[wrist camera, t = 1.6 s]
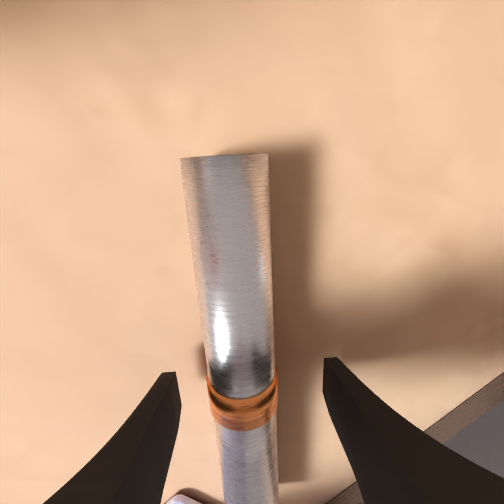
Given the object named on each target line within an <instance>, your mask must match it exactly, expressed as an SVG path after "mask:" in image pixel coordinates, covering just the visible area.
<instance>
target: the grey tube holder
mask: <svg viewBox="0 0 504 504" xmlns="http://www.w3.org/2000/svg"><path fill="white" fill-rule="evenodd" d="M424 433H426V434H428V435H429V436H431V437H432V438H434V439H435V440H437V441H438V442H440V443H441V444H443V445H445V446H446V447H448V448H449V449H451V450H453V451H454V452H456V453H458V454H460V455H461V456H463V457H465V458H467V459H468V460H470V461H472V462H474V463H475V464H477V465H479V466H481V467H483V468H485V469H487V470H489V471H491V472H493V473H495V474H497V475H498V476H500V477H502V478H504V373H503V374H501V375H500V376H499V377H497V378H496V379H495V380H493V381H492V382H491V383H489V384H488V385H487V386H485V387H484V388H483V389H481V390H480V391H479V392H477V393H476V394H474V395H473V396H472V397H470V398H469V399H468V400H466V401H465V402H464V403H462V404H461V405H460V406H458V407H457V408H456V409H454V410H453V411H452V412H450V413H449V414H447V415H446V416H445V417H443V418H442V419H441V420H439V421H438V422H437V423H435V424H434V425H433V426H431V427H430V428H429V429H427V430H426V431H425V432H424ZM327 504H364V501H363V498H362V495H361V492H360V489H359V486H358V483H357V482H356V483H354V484H353V485H352V486H350V487H349V488H348V489H346V490H345V491H343V492H342V493H341V494H339V495H338V496H337V497H335V498H334V499H333V500H331V501H330V502H329V503H327Z"/></svg>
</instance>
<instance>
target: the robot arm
mask: <svg viewBox="0 0 504 504" xmlns="http://www.w3.org/2000/svg"><path fill="white" fill-rule="evenodd" d="M323 395H324V399H325V402H326V405H327V408H328V412H329V415H330V417H331V420H332V422H333V424H334V427H335V429H336V432H337V434H338V436H339V439H340V441H341V443H342V446H343V448H344V450H345V453H346V455H347V457H348V460H349V462H350V465H351V467H352V469H353V472H354V475H355V477H356V480H357V483H358V486H359V489H360V492H361V495H362V498H363V501H364V504H504V478H502V477H500V476H498V475H497V474H495V473H493V472H491V471H489V470H487V469H485V468H483V467H481V466H479V465H477V464H475V463H474V462H472V461H470V460H468V459H467V458H465V457H463V456H461V455H460V454H458V453H456V452H454V451H453V450H451V449H449V448H448V447H446V446H445V445H443V444H441V443H440V442H438V441H437V440H435V439H434V438H432V437H431V436H429V435H428V434H426V433H424V432H423V431H422V430H420V429H419V428H417V427H416V426H414V425H413V424H412V423H410V422H409V421H408V420H406V419H405V418H404V417H402V416H401V415H399V414H398V413H397V412H396V411H394V410H393V409H392V408H391V407H389V406H388V405H387V404H386V403H385V402H384V401H382V400H381V399H380V398H379V397H378V396H377V395H375V394H374V393H373V392H372V391H371V390H370V389H369V388H368V387H367V386H366V385H365V384H364V383H362V382H361V381H360V380H359V379H358V378H357V377H356V376H355V375H354V374H353V373H352V372H351V371H350V370H349V369H348V368H347V367H346V366H345V365H344V364H343V363H342V362H341V361H340V360H339V359H338V358H337V357H332V358H324V369H323ZM181 406H182V405H181V399H180V394H179V388H178V382H177V377H176V372H165V373H162V374H161V375H160V376H159V377H158V379H157V380H156V382H155V383H154V385H153V386H152V387H151V389H150V390H149V392H148V393H147V394H146V396H145V397H144V398H143V400H142V401H141V402H140V404H139V405H138V406H137V408H136V409H135V410H134V411H133V413H132V414H131V415H130V417H129V418H128V419H127V420H126V421H125V423H124V424H123V425H122V426H121V427H120V429H119V430H118V431H117V432H116V433H115V434H114V436H113V437H112V438H111V439H110V440H109V441H108V442H107V443H106V444H105V446H104V447H103V448H102V449H101V450H100V451H99V452H98V453H97V454H96V455H95V456H94V457H93V458H92V459H91V460H90V461H89V462H88V463H87V464H86V465H85V466H84V467H83V468H82V469H81V470H80V471H79V472H78V473H77V474H76V475H75V476H74V477H73V478H71V479H70V480H69V481H68V482H67V483H66V484H65V485H64V486H63V487H62V488H60V489H59V490H58V491H57V492H56V493H55V494H54V495H52V496H51V497H50V498H49V499H48V500H47V501H45V502H44V503H43V504H160V503H161V498H162V494H163V489H164V485H165V481H166V477H167V473H168V469H169V465H170V461H171V457H172V453H173V449H174V445H175V441H176V437H177V433H178V428H179V421H180V414H181ZM166 504H202V503H200V502H197V501H195V500H193V499H191V498H189V497H187V496H185V495H182V494H179V495H175V496H174V497H173V498H171V499H170V500H169V501H168V502H167V503H166Z"/></svg>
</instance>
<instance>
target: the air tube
mask: <svg viewBox="0 0 504 504" xmlns="http://www.w3.org/2000/svg"><path fill="white" fill-rule="evenodd" d="M180 165H181V172H182V180H183V187H184V195H185V203H186V210H187V218H188V225H189V233H190V241H191V248H192V256H193V263H194V271H195V279H196V286H197V294H198V301H199V309H200V317H201V324H202V332H203V339H204V347H205V355H206V362H207V370H208V371H207V375H206V380H207V387H208V395H209V402H210V410H211V413H212V415H213V417H214V423H215V431H216V438H217V446H218V454H219V461H220V469H221V476H222V484H223V492H224V499H225V504H279V487H278V454H277V421H276V409H277V405H278V381H277V367H276V365H275V355H274V322H273V289H272V256H271V224H270V191H269V158H268V154H239V155H219V156H203V157H190V158H181V159H180Z"/></svg>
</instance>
